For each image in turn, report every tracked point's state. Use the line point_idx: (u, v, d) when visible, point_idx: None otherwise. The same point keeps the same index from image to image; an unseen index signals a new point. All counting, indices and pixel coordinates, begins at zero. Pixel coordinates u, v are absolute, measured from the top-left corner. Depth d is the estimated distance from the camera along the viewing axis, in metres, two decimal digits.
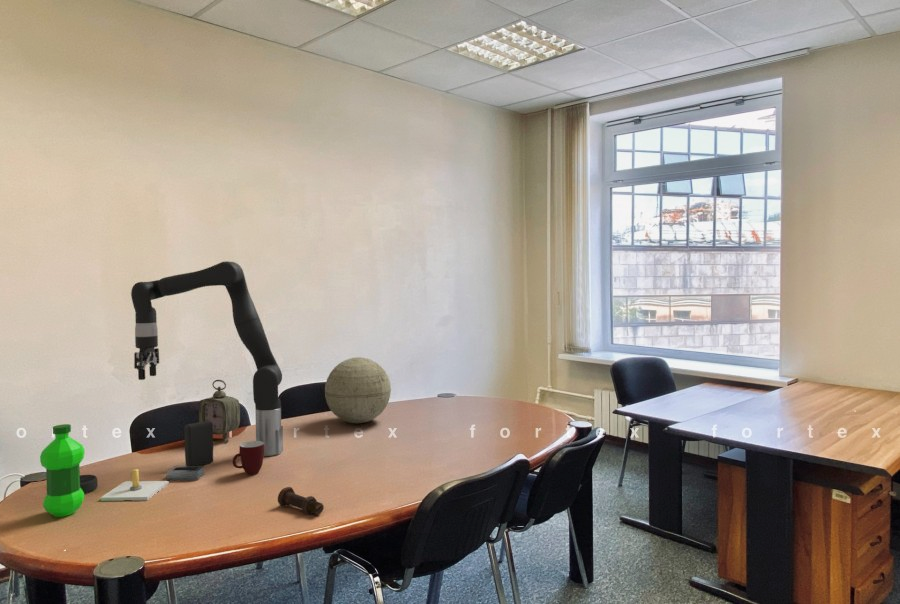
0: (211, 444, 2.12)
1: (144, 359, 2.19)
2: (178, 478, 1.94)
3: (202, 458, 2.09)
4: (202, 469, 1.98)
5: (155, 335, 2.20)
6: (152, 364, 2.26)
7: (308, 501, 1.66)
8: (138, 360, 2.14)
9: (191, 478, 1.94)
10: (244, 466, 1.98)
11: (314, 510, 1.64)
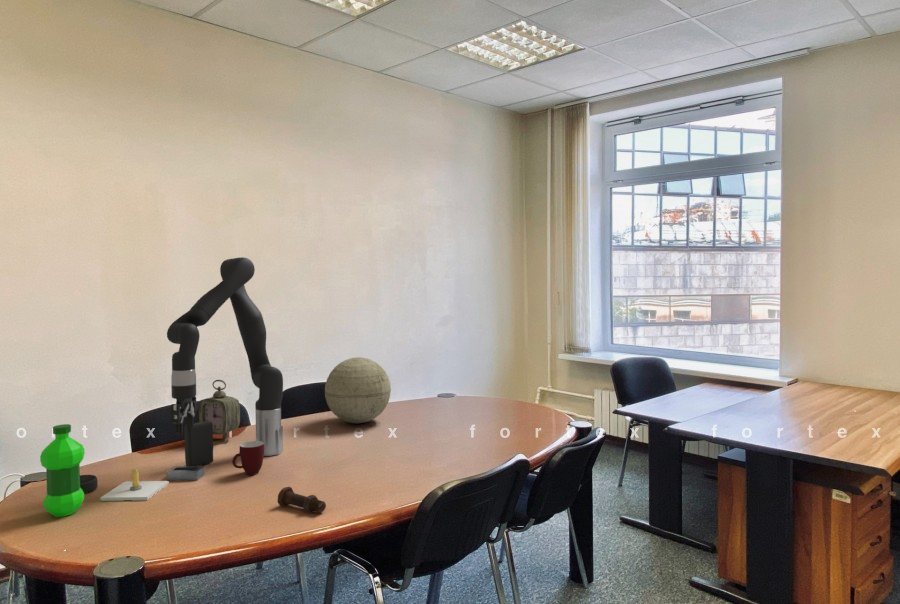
0: (211, 444, 2.12)
1: (181, 411, 1.93)
2: (178, 478, 1.94)
3: (202, 458, 2.09)
4: (202, 469, 1.98)
5: (194, 383, 1.95)
6: (189, 415, 2.00)
7: (310, 500, 1.67)
8: (175, 413, 1.89)
9: (191, 478, 1.94)
10: (244, 466, 1.98)
11: (317, 508, 1.65)
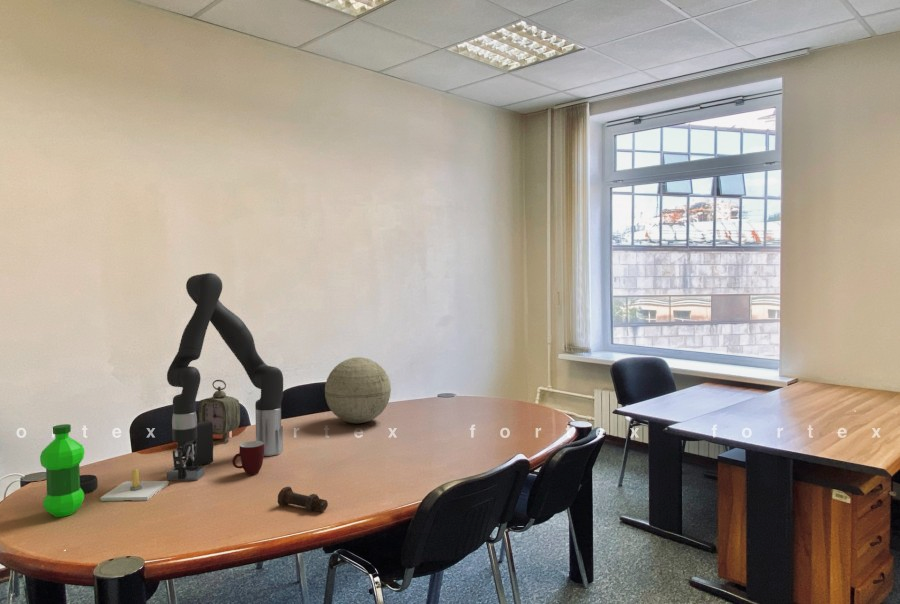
0: (211, 444, 2.12)
1: (183, 454, 1.94)
2: None
3: (202, 458, 2.09)
4: (202, 469, 1.98)
5: (195, 426, 1.95)
6: (189, 459, 1.99)
7: (312, 499, 1.68)
8: (177, 459, 1.90)
9: (191, 478, 1.94)
10: (244, 466, 1.98)
11: (319, 507, 1.66)
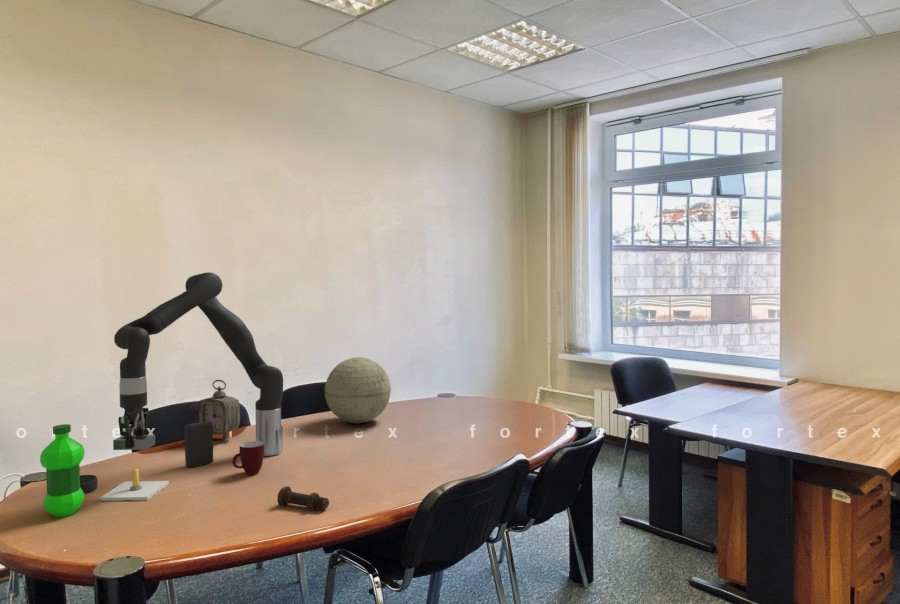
0: (211, 444, 2.12)
1: (130, 421, 1.80)
2: (126, 448, 1.80)
3: (202, 458, 2.09)
4: (152, 438, 1.84)
5: (144, 392, 1.82)
6: (139, 428, 1.86)
7: (313, 497, 1.69)
8: (124, 426, 1.76)
9: (139, 447, 1.80)
10: (244, 466, 1.98)
11: (321, 505, 1.67)
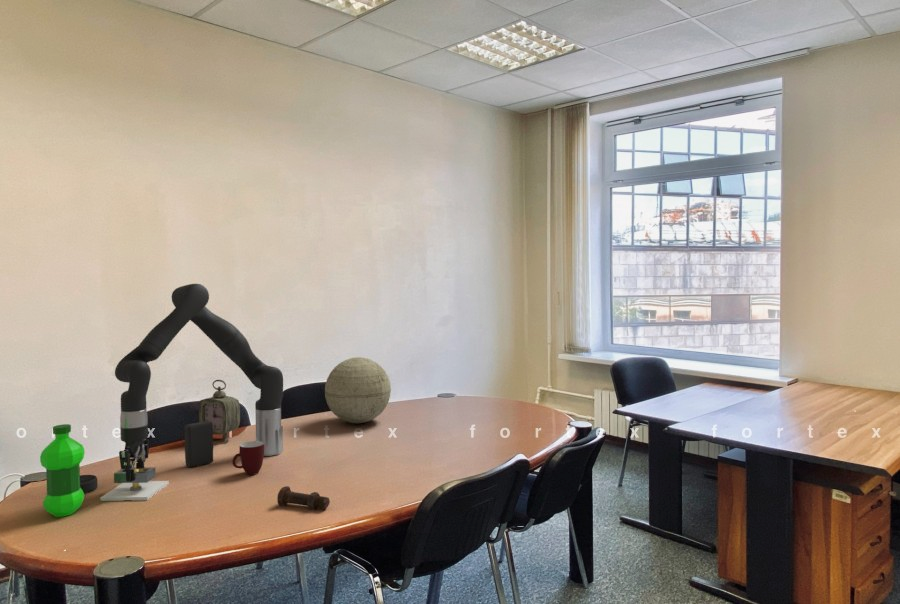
0: (211, 444, 2.12)
1: (131, 455, 1.80)
2: (126, 481, 1.80)
3: (202, 458, 2.09)
4: (153, 471, 1.85)
5: (145, 425, 1.82)
6: (139, 460, 1.86)
7: (314, 497, 1.69)
8: (125, 460, 1.77)
9: (140, 480, 1.81)
10: (244, 466, 1.98)
11: (322, 504, 1.68)
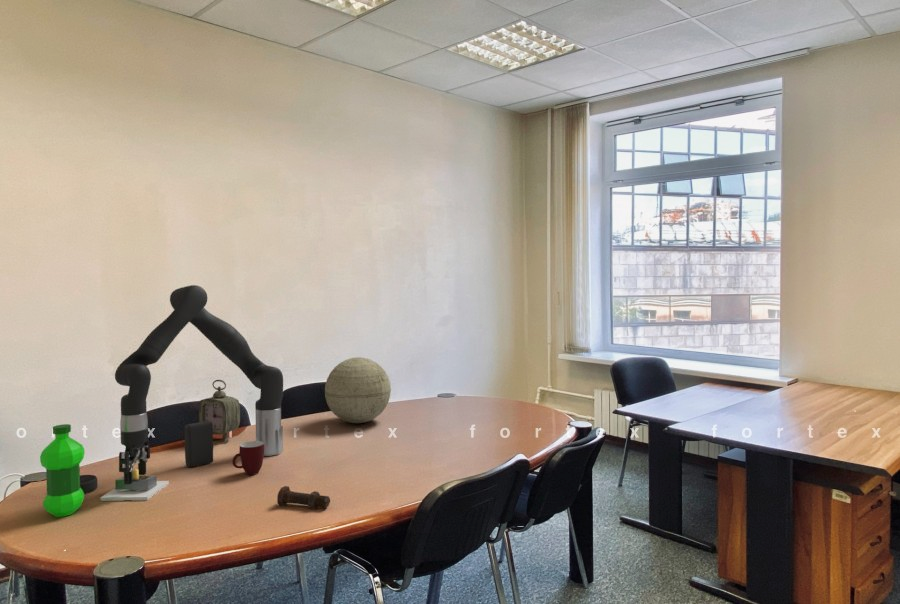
0: (211, 444, 2.12)
1: (131, 458, 1.80)
2: (127, 487, 1.81)
3: (202, 458, 2.09)
4: (154, 478, 1.85)
5: (145, 428, 1.82)
6: (141, 461, 1.87)
7: (315, 496, 1.70)
8: (124, 462, 1.76)
9: (141, 487, 1.81)
10: (244, 466, 1.98)
11: (323, 503, 1.69)
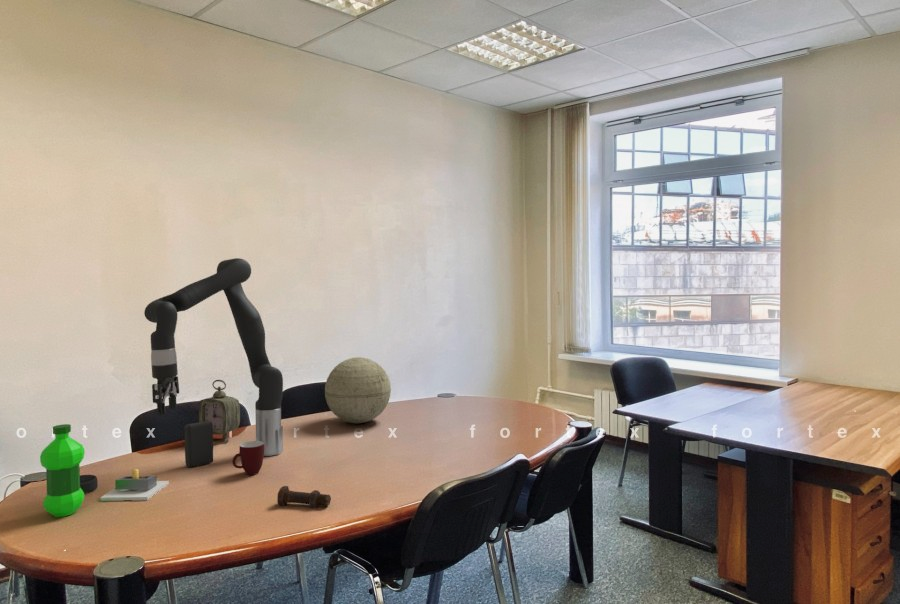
0: (211, 444, 2.12)
1: (163, 391, 1.89)
2: (127, 487, 1.81)
3: (202, 458, 2.09)
4: (154, 478, 1.85)
5: (174, 362, 1.91)
6: (171, 395, 1.97)
7: (316, 495, 1.71)
8: (157, 393, 1.85)
9: (141, 487, 1.81)
10: (244, 466, 1.98)
11: (325, 502, 1.70)
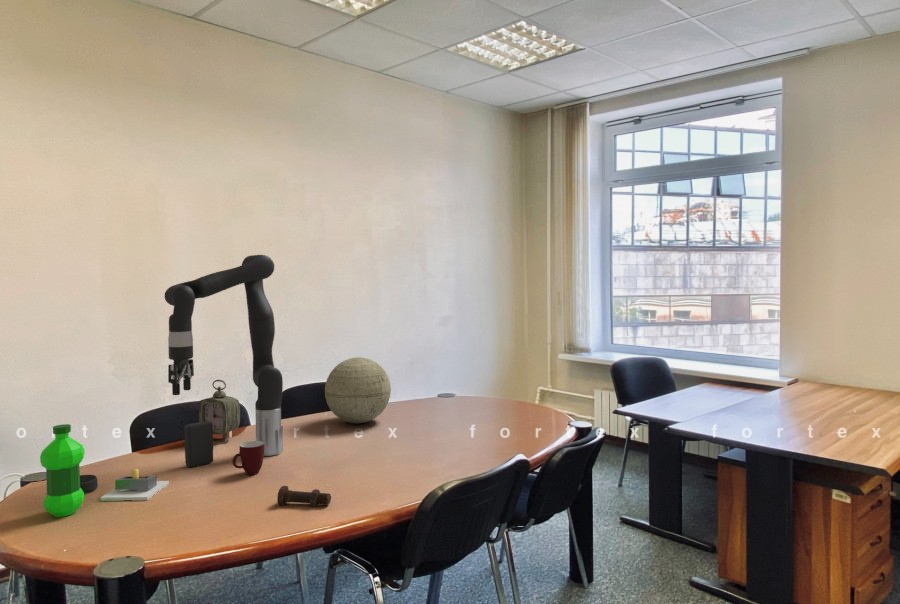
0: (211, 444, 2.12)
1: (178, 372, 1.95)
2: (127, 487, 1.81)
3: (202, 458, 2.09)
4: (154, 478, 1.85)
5: (190, 345, 1.97)
6: (186, 377, 2.02)
7: (316, 494, 1.71)
8: (173, 373, 1.91)
9: (141, 487, 1.81)
10: (244, 466, 1.98)
11: (325, 501, 1.71)
